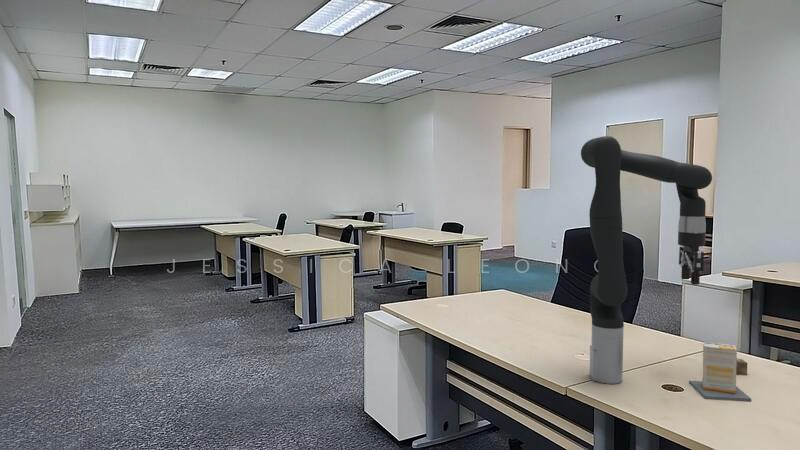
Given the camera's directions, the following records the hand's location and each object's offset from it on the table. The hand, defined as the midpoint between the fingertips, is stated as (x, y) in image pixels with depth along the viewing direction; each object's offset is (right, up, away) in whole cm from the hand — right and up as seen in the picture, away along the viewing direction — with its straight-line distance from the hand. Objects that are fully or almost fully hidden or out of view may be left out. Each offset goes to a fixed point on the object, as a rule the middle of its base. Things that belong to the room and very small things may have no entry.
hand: (690, 281), depth 165 cm
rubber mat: (+2, -31, -12) cm, 33 cm away
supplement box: (+2, -30, -12) cm, 33 cm away
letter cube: (+17, -30, +4) cm, 35 cm away
